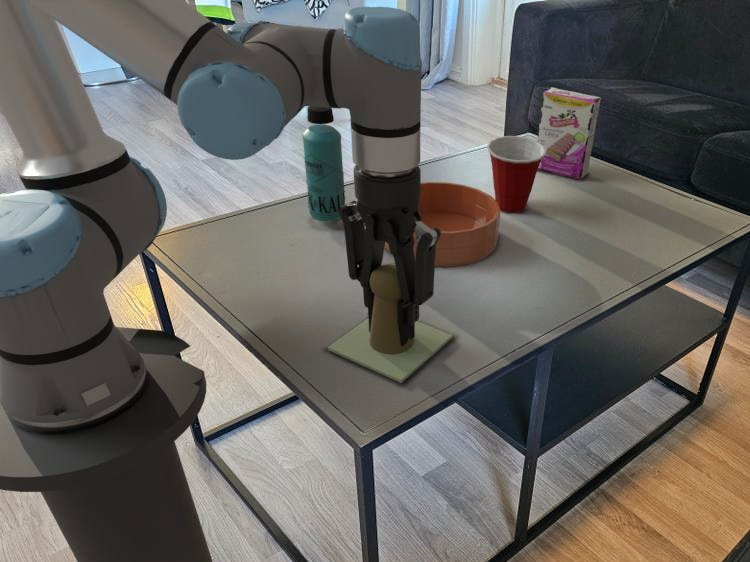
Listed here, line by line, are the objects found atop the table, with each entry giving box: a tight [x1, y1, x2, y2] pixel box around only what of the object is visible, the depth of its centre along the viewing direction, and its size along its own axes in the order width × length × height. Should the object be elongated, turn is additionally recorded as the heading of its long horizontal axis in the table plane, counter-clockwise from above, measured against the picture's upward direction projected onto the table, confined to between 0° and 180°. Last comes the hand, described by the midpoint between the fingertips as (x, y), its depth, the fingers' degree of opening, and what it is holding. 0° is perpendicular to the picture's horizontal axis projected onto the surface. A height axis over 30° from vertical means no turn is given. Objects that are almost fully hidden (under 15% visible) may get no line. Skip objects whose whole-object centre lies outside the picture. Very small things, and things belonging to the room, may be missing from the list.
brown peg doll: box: [369, 263, 414, 354], centre depth 84 cm, size 6×6×11 cm
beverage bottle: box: [301, 106, 346, 222], centre depth 109 cm, size 6×7×20 cm
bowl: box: [384, 181, 501, 267], centre depth 111 cm, size 20×20×6 cm
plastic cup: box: [486, 135, 546, 214], centre depth 121 cm, size 11×11×12 cm
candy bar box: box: [536, 86, 602, 181], centre depth 136 cm, size 11×5×16 cm, turn 65°
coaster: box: [327, 317, 454, 384], centre depth 88 cm, size 12×12×1 cm
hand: (391, 334), depth 87 cm, fingers closed on brown peg doll, 4 cm apart
